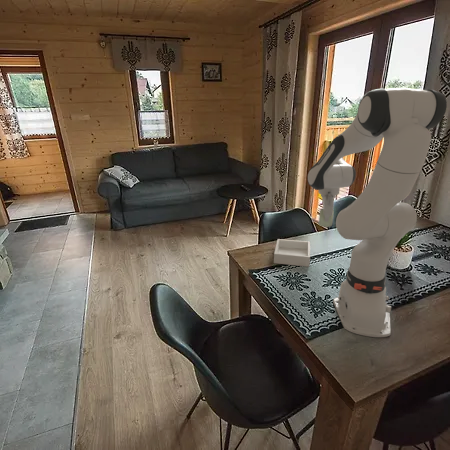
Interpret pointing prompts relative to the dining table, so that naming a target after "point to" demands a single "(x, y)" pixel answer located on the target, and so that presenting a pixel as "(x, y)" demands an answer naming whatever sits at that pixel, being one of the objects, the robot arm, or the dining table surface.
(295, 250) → the bin
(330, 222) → the pale green rounded block
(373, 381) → the dining table surface
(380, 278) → the robot arm
